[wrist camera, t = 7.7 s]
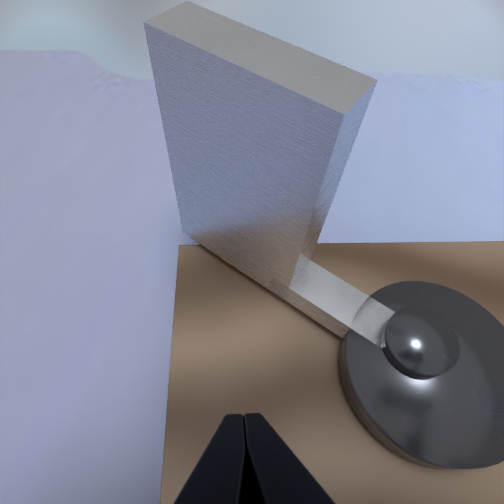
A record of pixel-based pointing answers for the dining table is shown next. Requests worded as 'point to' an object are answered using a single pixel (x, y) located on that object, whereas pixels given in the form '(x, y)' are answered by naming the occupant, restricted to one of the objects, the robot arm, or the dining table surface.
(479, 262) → the walnut stand plate
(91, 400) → the dining table surface
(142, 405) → the dining table surface
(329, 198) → the lever
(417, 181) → the dining table surface
